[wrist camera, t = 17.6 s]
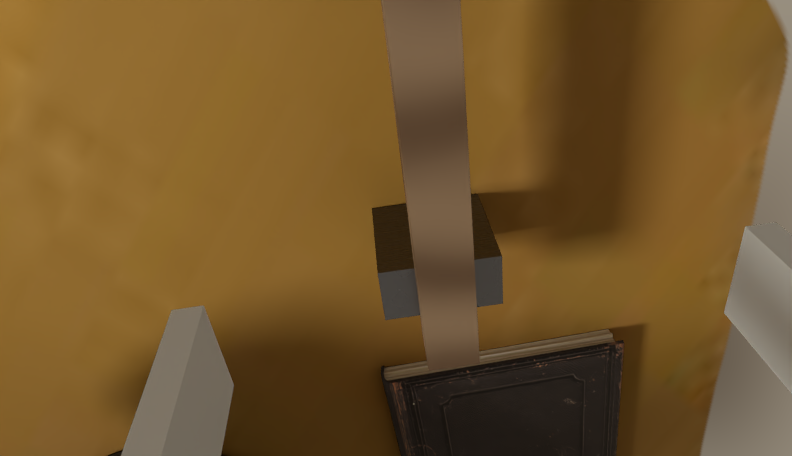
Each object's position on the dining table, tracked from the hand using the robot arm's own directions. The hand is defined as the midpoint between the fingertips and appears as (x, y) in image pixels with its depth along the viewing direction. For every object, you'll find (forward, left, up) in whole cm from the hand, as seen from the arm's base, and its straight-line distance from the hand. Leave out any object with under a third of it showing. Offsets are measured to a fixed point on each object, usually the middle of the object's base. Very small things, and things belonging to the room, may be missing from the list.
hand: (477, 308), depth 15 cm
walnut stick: (0, 0, -12) cm, 12 cm away
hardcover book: (-31, -5, -18) cm, 36 cm away
